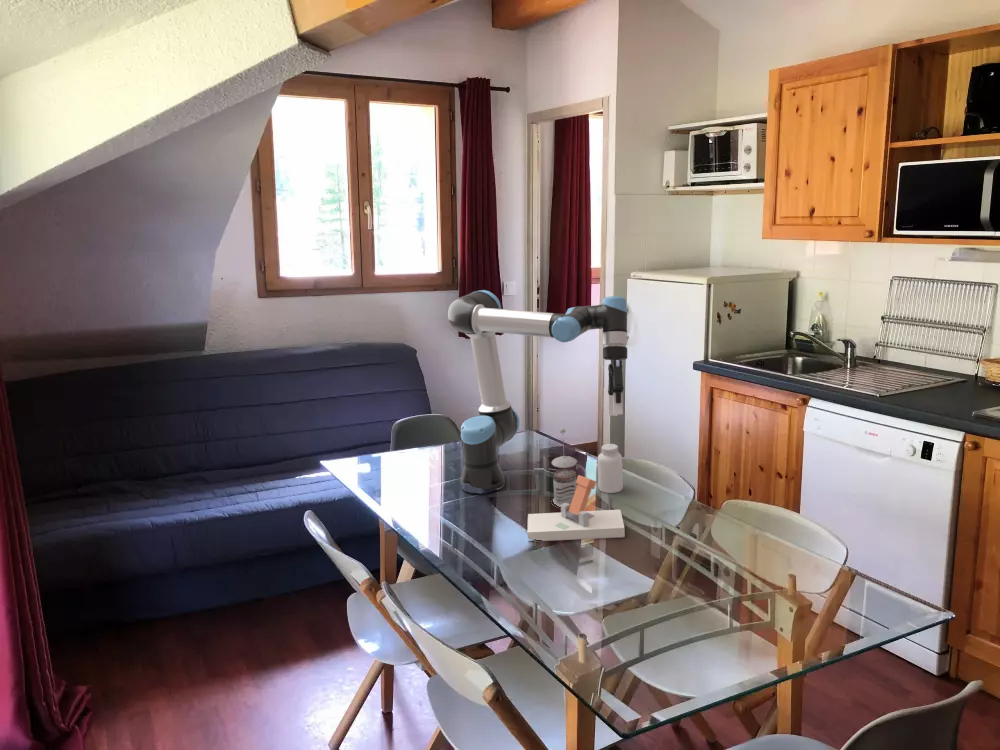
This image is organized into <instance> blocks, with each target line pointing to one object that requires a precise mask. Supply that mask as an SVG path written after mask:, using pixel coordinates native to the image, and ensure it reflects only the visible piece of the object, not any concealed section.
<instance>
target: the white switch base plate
mask: <svg viewBox="0 0 1000 750" xmlns="http://www.w3.org/2000/svg"><path fill="white" fill-rule="evenodd" d="M569 508H570V504H568V503H566V502H565V503H563V504H561V508H560V512H545V513H542V512H541V513H528V514H527V539H528V538H529V539H536V540H542V541H541V542H549V541H550V542H551V541H553V542H554V541H571V540H575V541H576V540H593V539H612V538H613V539H614V538H615V539H616V538H626V537H625V535H626V534H625V533H626V532H625V531H626V530H625V524H624V519H623V516H622V511H621V509H604V510H587V511H586V510H583V511H581V512H578V515H579V522H577V521H575V520H573V519H571V518H569V517H567V516H566V512H567V510H569Z"/></svg>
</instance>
